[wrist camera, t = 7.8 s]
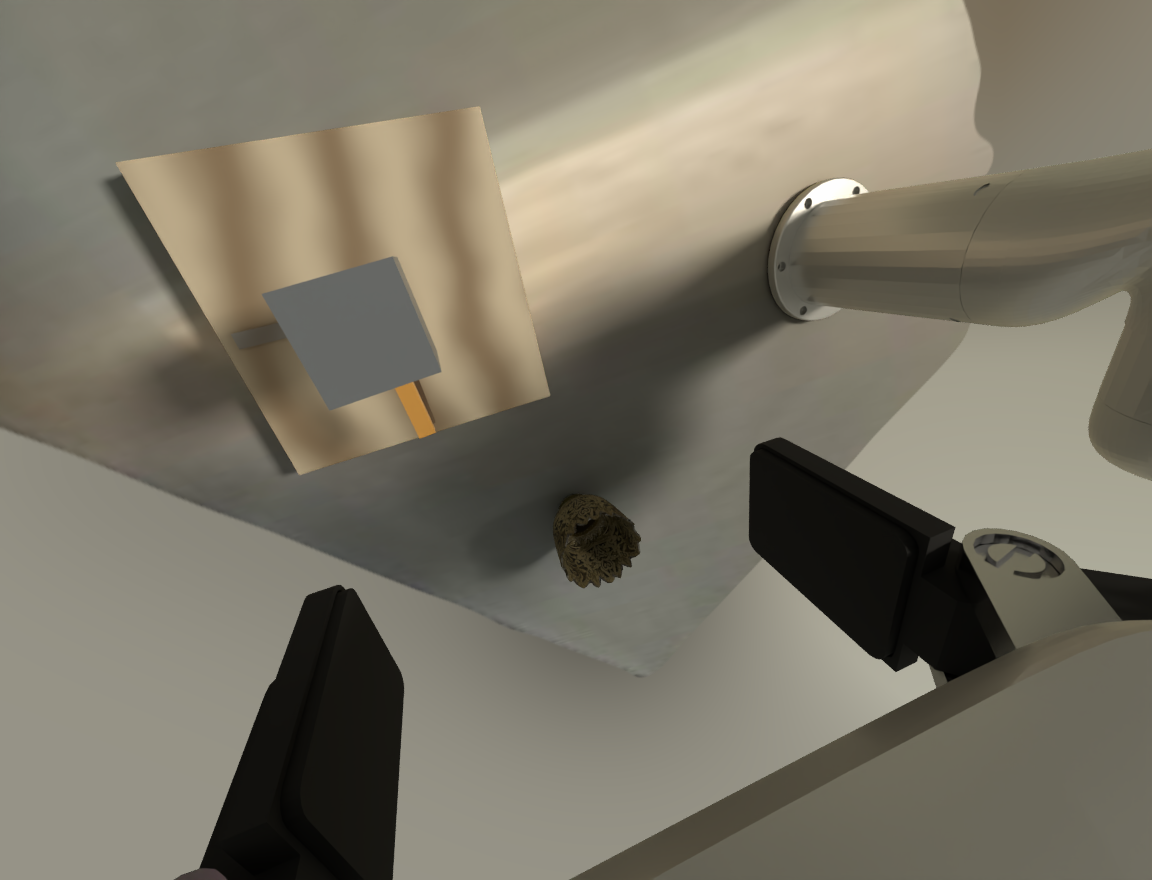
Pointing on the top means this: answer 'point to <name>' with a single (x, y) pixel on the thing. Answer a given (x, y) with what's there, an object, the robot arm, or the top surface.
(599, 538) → the cup
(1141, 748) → the robot arm
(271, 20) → the top surface
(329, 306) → the cap
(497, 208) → the block
